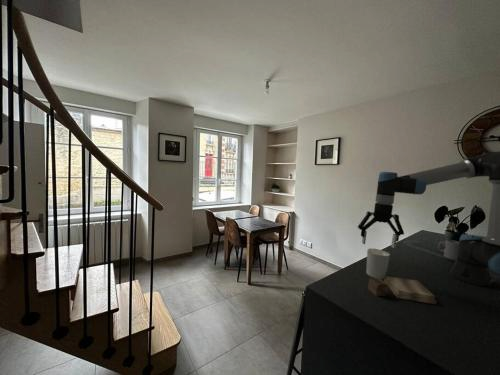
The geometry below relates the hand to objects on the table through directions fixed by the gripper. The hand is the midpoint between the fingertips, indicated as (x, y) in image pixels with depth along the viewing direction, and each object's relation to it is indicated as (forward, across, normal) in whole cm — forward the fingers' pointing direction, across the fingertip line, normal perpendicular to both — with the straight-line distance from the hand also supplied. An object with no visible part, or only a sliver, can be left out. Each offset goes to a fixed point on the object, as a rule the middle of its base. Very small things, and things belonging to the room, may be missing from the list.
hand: (378, 245), depth 110 cm
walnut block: (+15, +4, +18) cm, 24 cm away
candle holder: (+16, -1, 0) cm, 16 cm away
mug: (+15, -60, -46) cm, 77 cm away
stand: (+15, -10, +13) cm, 22 cm away
